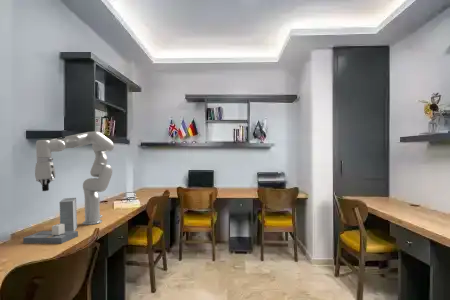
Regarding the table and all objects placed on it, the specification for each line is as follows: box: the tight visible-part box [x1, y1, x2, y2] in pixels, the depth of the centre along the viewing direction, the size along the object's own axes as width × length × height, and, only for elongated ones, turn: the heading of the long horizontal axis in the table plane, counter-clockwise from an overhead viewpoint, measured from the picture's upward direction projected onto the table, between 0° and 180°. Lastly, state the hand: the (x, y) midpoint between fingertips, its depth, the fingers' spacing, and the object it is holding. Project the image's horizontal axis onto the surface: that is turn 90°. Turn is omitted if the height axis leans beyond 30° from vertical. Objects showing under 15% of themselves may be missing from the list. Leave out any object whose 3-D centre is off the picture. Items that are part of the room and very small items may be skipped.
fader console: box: [22, 230, 79, 244], centre depth 163 cm, size 14×23×3 cm, turn 83°
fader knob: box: [51, 222, 65, 235], centre depth 163 cm, size 5×4×5 cm
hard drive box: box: [59, 197, 78, 231], centre depth 183 cm, size 16×8×20 cm, turn 21°
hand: (45, 190), depth 173 cm, fingers closed
